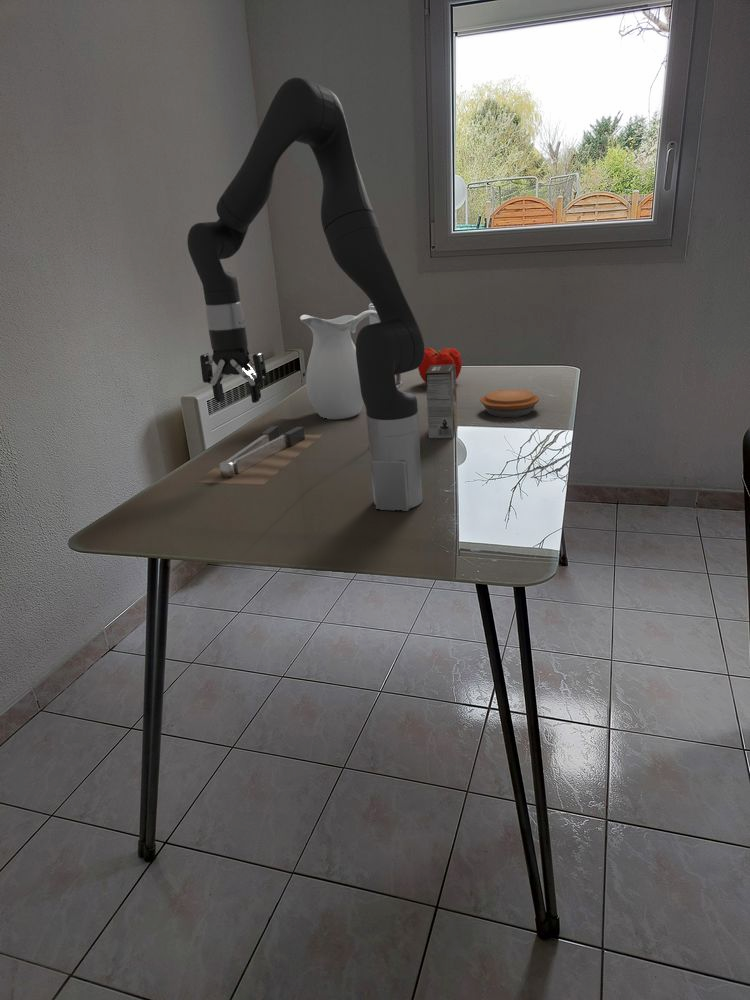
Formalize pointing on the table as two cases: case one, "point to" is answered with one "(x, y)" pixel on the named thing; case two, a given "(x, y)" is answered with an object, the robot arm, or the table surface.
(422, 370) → the tomato
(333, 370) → the pitcher
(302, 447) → the board
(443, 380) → the coffee box
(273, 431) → the arm
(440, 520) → the table surface
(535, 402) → the pie
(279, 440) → the arm
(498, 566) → the table surface
